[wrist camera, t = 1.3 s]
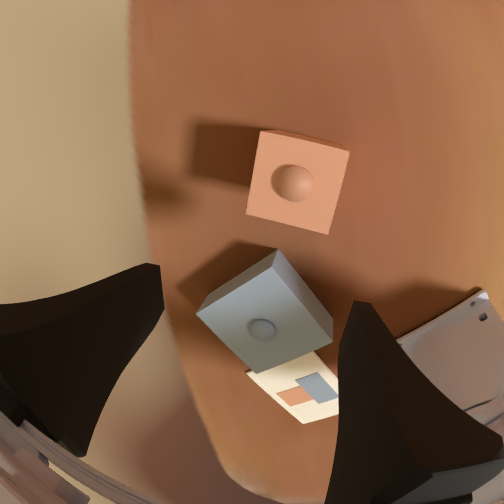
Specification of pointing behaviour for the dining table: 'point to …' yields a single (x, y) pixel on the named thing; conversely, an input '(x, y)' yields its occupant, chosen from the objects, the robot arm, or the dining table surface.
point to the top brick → (296, 180)
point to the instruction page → (302, 387)
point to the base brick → (267, 315)
